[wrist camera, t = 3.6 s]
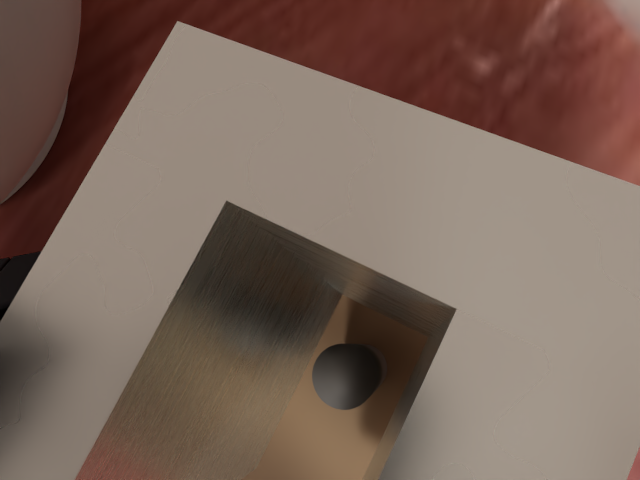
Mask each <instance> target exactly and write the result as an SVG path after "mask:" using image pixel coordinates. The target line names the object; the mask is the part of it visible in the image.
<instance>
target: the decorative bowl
mask: <svg viewBox="0 0 640 480" xmlns="http://www.w3.org/2000/svg"><path fill="white" fill-rule="evenodd" d="M80 24H81V0H0V204H1V203H3V202H4V201H6V200H7V199H8V198H9V197H11V196H12V195H13V194H14V193H16V192H17V191H18V190H19V189H20V188H21V187H22V186H23V185H24V184H25V183H26V182H27V181H28V180H29V179H30V177H31V176H32V175H33V174H34V173H35V171H36V170H37V169H38V167H39V166H40V165H41V163H42V162H43V160H44V159H45V157H46V156H47V154H48V152H49V150H50V149H51V147H52V145H53V143H54V141H55V139H56V137H57V134H58V132H59V129H60V127H61V123H62V120H63V117H64V113H65V109H66V104H67V97H68V88H69V85H70V82H71V78H72V74H73V70H74V66H75V60H76V55H77V49H78V43H79V34H80Z"/></svg>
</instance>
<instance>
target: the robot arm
mask: <svg viewBox="0 0 640 480" xmlns="http://www.w3.org/2000/svg"><path fill="white" fill-rule="evenodd" d="M41 252H42V251H41ZM41 252H35V253H30V254H25V255H19V256H14V257H12V258H11V259H10V258H3V259H0V321H1V320H2V318H3V316H4V315H5V313H6V311H7V310H8V308H9V306H10V304H11V303H12V301H13V299H14V298H15V296H16V294H17V293H18V291H19V289H20V287H21V286H22V284H23V282H24V281H25V279H26V277H27V276H28V274H29V272H30V271H31V269H32V267H33V265H34V264H35V262H36V260H37V259H38V257H39V255H40V254H41Z"/></svg>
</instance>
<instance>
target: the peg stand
mask: <svg viewBox="0 0 640 480" xmlns="http://www.w3.org/2000/svg"><path fill="white" fill-rule="evenodd" d="M427 339H428V337H427V336H425V335H423V334H421V333H419V332H417V331H415V330H413V329H411V328H409V327H406V326H404V325H402V324H400V323H398V322H396V321H394V320H392V319H390V318H388V317H386V316H384V315H382V314H380V313H378V312H376V311H374V310H372V309H370V308H368V307H366V306H364V305H362V304H360V303H358V302H356V301H354V300H352V299H350V298H348V297H346V296H344V295H342V297H341V299H340V301H339V303H338V305H337V307H336V309H335V311H334V313H333V315H332V317H331V319H330V321H329V323H328V325H327V327H326V329H325V331H324V333H323V335H322V337H321V339H320V341H319V343H318V345H317V347H316V349H315V351H314V353H313V355H312V357H311V359H310V361H309V363H308V365H307V367H306V369H305V371H304V373H303V375H302V377H301V379H300V381H299V384H298V386H297V388H296V390H295V392H294V394H293V396H292V398H291V400H290V402H289V404H288V406H287V408H286V410H285V412H284V414H283V416H282V418H281V420H280V422H279V424H278V426H277V428H276V430H275V432H274V434H273V436H272V438H271V440H270V442H269V444H268V446H267V448H266V450H265V452H264V454H263V456H262V458H261V460H260V462H259V464H258V466H257V468H256V469H255V470H253V471H252V472H251V473H249V474H248V475H246V476H245V477H244V478H242V479H241V480H362V479H363V477H364V475H365V472H366V470H367V468H368V466H369V464H370V462H371V460H372V457H373V455H374V453H375V451H376V449H377V447H378V444H379V442H380V440H381V438H382V436H383V434H384V432H385V429H386V427H387V425H388V423H389V421H390V419H391V417H392V414H393V412H394V410H395V408H396V406H397V404H398V402H399V399H400V397H401V395H402V393H403V391H404V389H405V386H406V384H407V382H408V380H409V378H410V376H411V374H412V371H413V369H414V367H415V365H416V363H417V361H418V359H419V356H420V354H421V352H422V350H423V348H424V346H425V344H426V341H427Z"/></svg>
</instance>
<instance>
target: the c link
mask: <svg viewBox="0 0 640 480" xmlns="http://www.w3.org/2000/svg"><path fill="white" fill-rule="evenodd" d="M342 295H344V296H346V297H348V298H350V299H352V300H354V301H356V302H358V303H360V304H362V305H364V306H366V307H368V308H370V309H372V310H374V311H376V312H378V313H380V314H382V315H384V316H386V317H388V318H390V319H392V320H394V321H396V322H398V323H400V324H402V325H404V326H406V327H409V328H411V329H413V330H415V331H417V332H419V333H421V334H423V335H425V336H427V337H428V339H427V341H426V344H425V346H424V348H423V350H422V352H421V354H420V356H419V359H418V361H417V363H416V365H415V367H414V369H413V371H412V374H411V376H410V378H409V380H408V382H407V384H406V386H405V389H404V391H403V393H402V395H401V397H400V399H399V402H398V404H397V406H396V408H395V410H394V412H393V414H392V417H391V419H390V421H389V423H388V425H387V427H386V429H385V432H384V434H383V436H382V438H381V440H380V442H379V444H378V447H377V449H376V451H375V453H374V455H373V457H372V460H371V462H370V464H369V466H368V468H367V470H366V472H365V475H364V477H363V479H362V480H627V477H628V475H629V472H630V470H631V467H632V464H633V462H634V459H635V457H636V454H637V452H638V449H639V447H640V186H638V185H635V184H632V183H629V182H626V181H624V180H621V179H618V178H615V177H612V176H610V175H607V174H604V173H601V172H598V171H596V170H593V169H590V168H587V167H584V166H582V165H579V164H576V163H573V162H570V161H568V160H565V159H562V158H559V157H556V156H554V155H551V154H548V153H545V152H542V151H540V150H537V149H534V148H531V147H528V146H526V145H523V144H520V143H517V142H514V141H512V140H509V139H506V138H503V137H500V136H498V135H495V134H492V133H489V132H487V131H484V130H481V129H478V128H475V127H473V126H470V125H467V124H464V123H461V122H459V121H456V120H453V119H450V118H447V117H445V116H442V115H439V114H436V113H433V112H431V111H428V110H425V109H422V108H419V107H417V106H414V105H411V104H408V103H405V102H403V101H400V100H397V99H394V98H391V97H389V96H386V95H383V94H380V93H377V92H375V91H372V90H369V89H366V88H363V87H361V86H358V85H355V84H352V83H349V82H347V81H344V80H341V79H338V78H335V77H333V76H330V75H327V74H324V73H321V72H319V71H316V70H313V69H310V68H307V67H305V66H302V65H299V64H296V63H294V62H291V61H288V60H285V59H282V58H280V57H277V56H274V55H271V54H268V53H266V52H263V51H260V50H257V49H254V48H252V47H249V46H246V45H243V44H240V43H238V42H235V41H232V40H229V39H226V38H224V37H221V36H218V35H215V34H212V33H210V32H207V31H204V30H201V29H198V28H196V27H193V26H190V25H187V24H184V23H182V22H179V21H177V23H176V25H175V26H174V28H173V30H172V31H171V33H170V35H169V36H168V38H167V40H166V41H165V43H164V45H163V47H162V48H161V50H160V52H159V53H158V55H157V57H156V58H155V60H154V62H153V64H152V65H151V67H150V69H149V70H148V72H147V74H146V75H145V77H144V79H143V80H142V82H141V84H140V86H139V87H138V89H137V91H136V92H135V94H134V96H133V97H132V99H131V101H130V103H129V104H128V106H127V108H126V109H125V111H124V113H123V114H122V116H121V118H120V120H119V121H118V123H117V125H116V126H115V128H114V130H113V131H112V133H111V135H110V136H109V138H108V140H107V142H106V143H105V145H104V147H103V148H102V150H101V152H100V153H99V155H98V157H97V159H96V160H95V162H94V164H93V165H92V167H91V169H90V170H89V172H88V174H87V176H86V177H85V179H84V181H83V182H82V184H81V186H80V187H79V189H78V191H77V192H76V194H75V196H74V198H73V199H72V201H71V203H70V204H69V206H68V208H67V209H66V211H65V213H64V215H63V216H62V218H61V220H60V221H59V223H58V225H57V226H56V228H55V230H54V232H53V233H52V235H51V237H50V238H49V240H48V242H47V243H46V245H45V247H44V248H43V250H42V252H41V254H40V255H39V257H38V259H37V260H36V262H35V264H34V265H33V267H32V269H31V271H30V272H29V274H28V276H27V277H26V279H25V281H24V282H23V284H22V286H21V287H20V289H19V291H18V293H17V294H16V296H15V298H14V299H13V301H12V303H11V304H10V306H9V308H8V310H7V311H6V313H5V315H4V316H3V318H2V320H1V321H0V480H241V479H242V478H244V477H245V476H246V475H248V474H249V473H251V472H252V471H253V470H255V469H256V468H257V466H258V464H259V462H260V460H261V458H262V456H263V454H264V452H265V450H266V448H267V446H268V444H269V442H270V440H271V438H272V436H273V434H274V432H275V430H276V428H277V426H278V424H279V422H280V420H281V418H282V416H283V414H284V412H285V410H286V408H287V406H288V404H289V402H290V400H291V398H292V396H293V394H294V392H295V390H296V388H297V386H298V384H299V381H300V379H301V377H302V375H303V373H304V371H305V369H306V367H307V365H308V363H309V361H310V359H311V357H312V355H313V353H314V351H315V349H316V347H317V345H318V343H319V341H320V339H321V337H322V335H323V333H324V331H325V329H326V327H327V325H328V323H329V321H330V319H331V317H332V315H333V313H334V311H335V309H336V307H337V305H338V303H339V301H340V299H341V297H342Z"/></svg>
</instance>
